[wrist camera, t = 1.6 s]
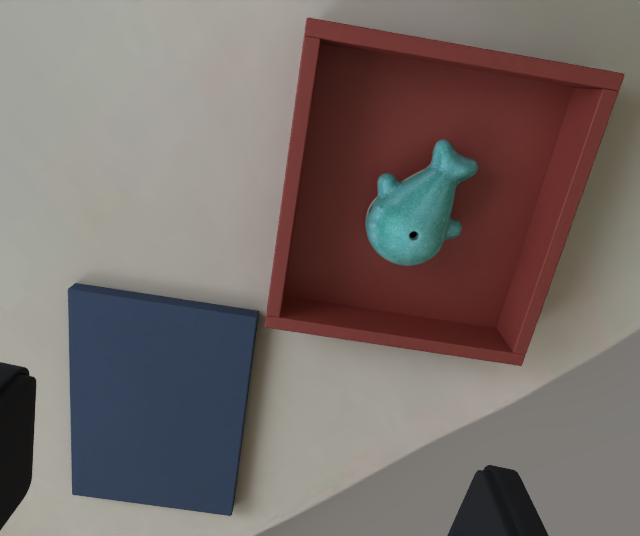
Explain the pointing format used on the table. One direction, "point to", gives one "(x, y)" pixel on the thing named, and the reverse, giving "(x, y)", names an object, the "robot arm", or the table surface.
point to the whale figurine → (418, 208)
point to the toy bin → (415, 155)
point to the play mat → (157, 397)
